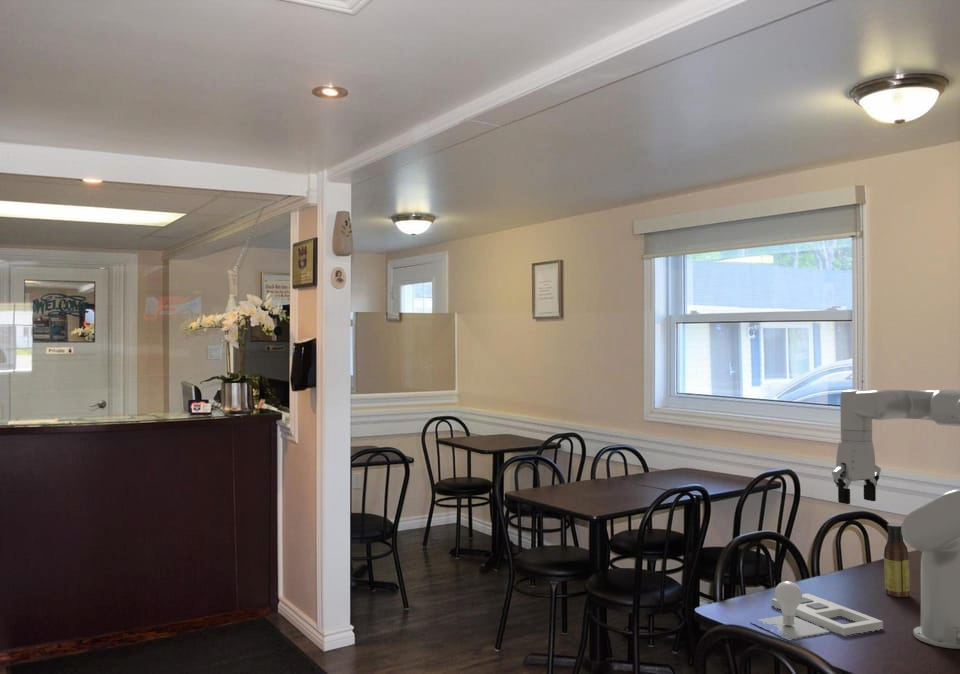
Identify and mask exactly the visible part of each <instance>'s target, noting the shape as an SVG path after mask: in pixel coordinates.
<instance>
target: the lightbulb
mask: <svg viewBox="0 0 960 674" xmlns="http://www.w3.org/2000/svg"><path fill="white" fill-rule="evenodd" d="M802 594H803V591H802V589H801V588H800V586H799V585H798V584H797V583H795V582H793V581H789V580H786V581H785V580H784V581H781V582H779V583H778V584H777V585H776V587H775V590H774V597H775V598H776V599H777V601H778V603H779V604H780V606H781V610H780V611H781V613H782V616H783V624H785V625H786V626H788V627H790V626H792V625H794V617H795V616H794V614H795V612H796V608H797V607H798V605H799V604H800V603H801V601H802Z"/></svg>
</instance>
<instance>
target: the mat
mask: <svg viewBox="0 0 960 674" xmlns="http://www.w3.org/2000/svg"><path fill="white" fill-rule="evenodd" d="M758 620H759V621H762V622H763V623H764V624H765V622H766V623H767V624H770V625H771V624H777V625H774V626H777V628H779V629H778V632H779V631H781V632H783V633H781V634H782V636H783V637H786V638H788V639H795V640H798V639H797V638H800V639H802V638H801V637H806V636H811V637H814V636H813V635H817V636H819V635H818V634H823V633H828V632H830V633H831V631H830V630H827V629H825V628H822V627H820V626H818V625H815V624H813V623H810V622H808V621H805V620H803V619H801V618H798V617H796V616H794V625H792V626H790V627H788V626H786V625H785V624H783V615H779V616H772V617H766V618H765V617H764V618H760V619H758ZM771 631H773V629H771ZM773 632H774V631H773ZM785 633H787V634H785ZM828 634H829V633H828ZM823 635H824V634H823ZM806 638H807V637H806Z"/></svg>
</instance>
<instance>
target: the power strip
mask: <svg viewBox="0 0 960 674" xmlns="http://www.w3.org/2000/svg"><path fill="white" fill-rule="evenodd" d="M770 600H771V604H770V605H773V606H776V607H777V608H780V609H781V606H780V604H779V603H778V601H777V599H776V597H775V598H771V599H770ZM777 608H776V609H777ZM794 615H796V616H798V617H800V618H799V619H801V618H803V619H805V620H808V621H810V622H813V623H815V624H817V625H816V626H818V625H819V626H818V627H820V626H822V627H825V628H827V629H829V630H828V631H830V630H832V631H834V632H837V633H839V634H842V635H850V634H855V633H861V634H864V633H863V632H866V633H869V632H868V631H872V632H875V630H877V631H881V630H880V629H884V621H883V620H880V619H878V618H875V617H872V616H870V615H867V614H865V613H862V612H860V611H857V610H854V609H851V608H848V607H846V606H843V605H840V604H837V603H835V602H832V601H830V600H827V599H825V598H822V597H819V596H816V595H813V594H811V593H802V601H801V603H800V604H799V605H798V607H797V608H796V612H795V614H794ZM796 616H795V617H796ZM837 616H842V618H844V617H845V618H844V619H846V618H847V619H846V620H849V619H850V620H849V621H851V620H853V621H852V622H850V623H845V624H843V623H840V622H839V621H836V620H833V619H832V618H830V617H835V618H838V617H837ZM798 617H797V618H798ZM803 619H802V620H803ZM805 620H804V621H805ZM808 621H807V622H808ZM854 621H855V622H854ZM810 622H809V623H810ZM813 623H812V624H813ZM815 624H814V625H815ZM822 627H821V628H822ZM825 628H824V629H825ZM827 629H826V630H827ZM832 631H831V632H832ZM834 632H833V633H834ZM837 633H836V634H837ZM839 634H838V635H839ZM842 635H841V636H842ZM855 635H856V634H855ZM850 636H851V635H850Z"/></svg>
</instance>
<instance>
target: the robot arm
mask: <svg viewBox="0 0 960 674" xmlns="http://www.w3.org/2000/svg"><path fill="white" fill-rule="evenodd" d="M839 399H840V400H839V401H840V441H839V442H838V447H837V451H836V458H835V459H836V460H835V461H836V463H835V469H834V470H832V471H831V475H832V478H833V482H834V483H835V484H836V485H835V486H836V488H837V495H838V496H837V497H838V498H837V502H838V503H840V504H843V505H850V504H851V489H850V488H849V487H850V485H851V483H852V482H858V481H863V482H864V483H865V484H863V500H864V501H869V502H870V501H871V502H876V500H877V497H876V495H877V494H876V493H877V490H876V489H877V488H876V487H877V486H878V480H879V479H880V474H881V472H882V471H881V467H880V466H878V465H876V456H875V447H874V443H873V442H874V441H873V420H876V421H877V420H878V421H884V420H893V419H894V420H895V419H896V420H898V419H901V420H902V419H908V420H909V419H910V420H922V421H923V420H924V421H930V422H931V421H933V422H934V423H935V424H937V425H939V426H950V427H951V426H952V427H960V390H959V389H958V390H957V389H956V390H955V389H952V390H951V389H936V390H918V389H917V390H915V389H880V390H865V389H845V390H842V391H841V393H840V397H839ZM901 525H902V527H901V531H902V536H903V541H905V542H904V543H906V545H908V546H909V547H911V548H912V549H914V550H916V551H919V552H921V556H920V626H916V627H914V628H913V633H912V634H913V636H914V637H915V638H916V639H917V640H919V641H921V642H923V643H926V644H929V645H931V646H935V647H940V648H945V649H946V648H947V649H954V650H960V488H955V489H953V490H949V491H946V492H945V493H943V494H941V495H939V496H937V497H936V498H934V499H932V500H930V501H928V502H927V503H925V504H923V505H922V506H920V507H918V508H916V509H915V510H913V511H911V512H910V513H908V514H907V515H906V516H905V517H904V519H903V520H902V524H901Z"/></svg>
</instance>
